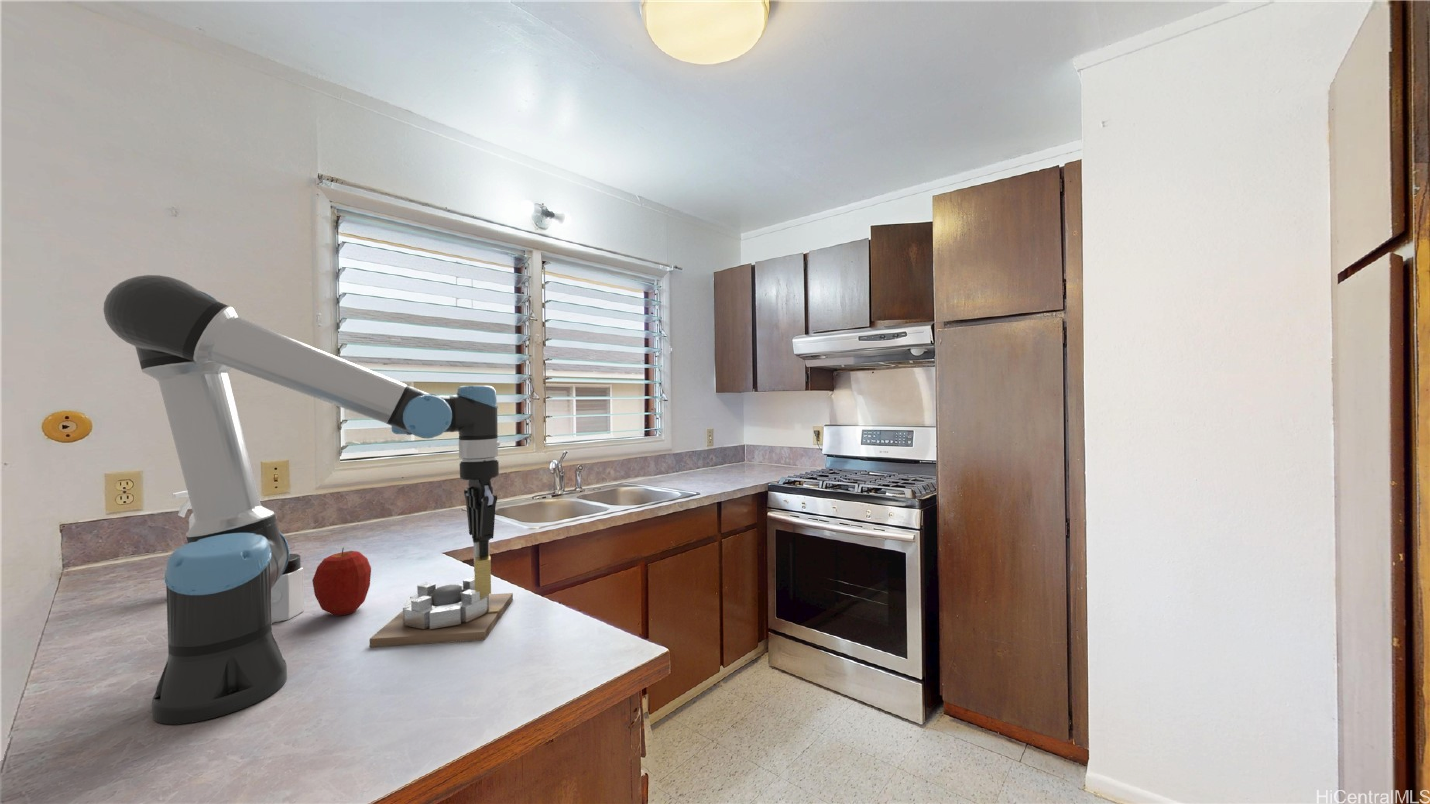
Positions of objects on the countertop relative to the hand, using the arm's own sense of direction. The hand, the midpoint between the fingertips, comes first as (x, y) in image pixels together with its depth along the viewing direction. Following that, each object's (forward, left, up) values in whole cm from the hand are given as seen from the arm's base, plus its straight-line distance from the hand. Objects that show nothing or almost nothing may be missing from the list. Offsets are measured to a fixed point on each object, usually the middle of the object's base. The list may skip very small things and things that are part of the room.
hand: (482, 570), depth 114 cm
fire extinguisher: (+24, +69, -9) cm, 74 cm away
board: (-4, +5, -9) cm, 11 cm away
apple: (+4, +29, -9) cm, 31 cm away
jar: (+4, +42, -9) cm, 43 cm away
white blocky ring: (-4, +5, -7) cm, 10 cm away
